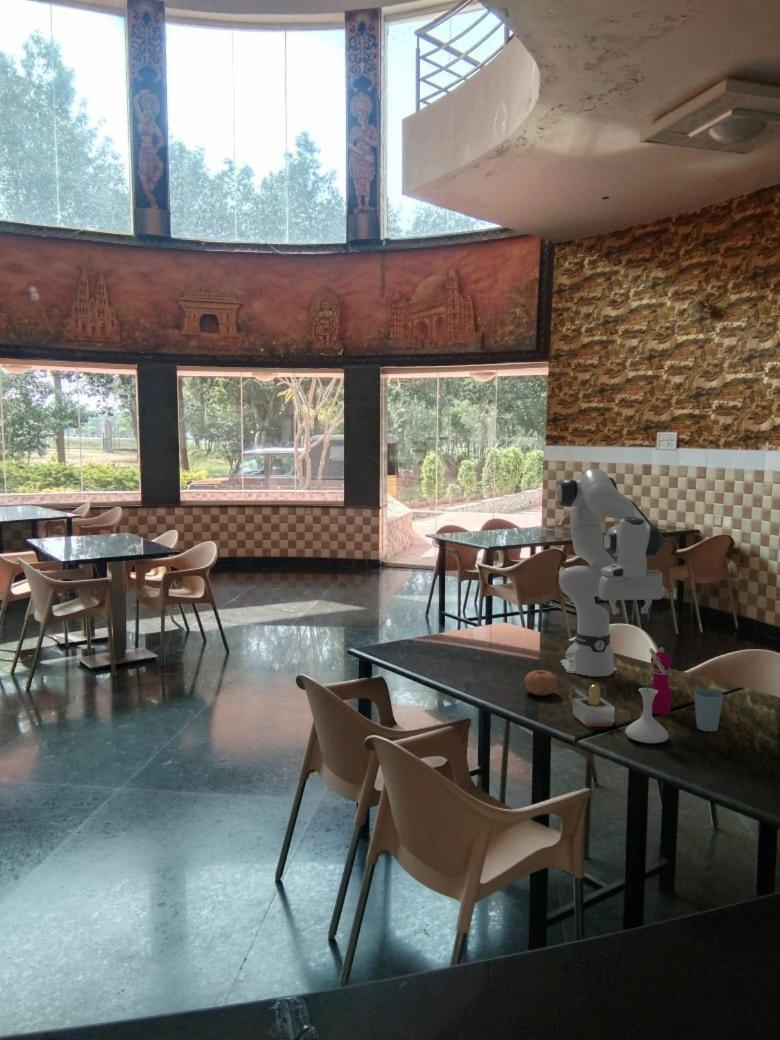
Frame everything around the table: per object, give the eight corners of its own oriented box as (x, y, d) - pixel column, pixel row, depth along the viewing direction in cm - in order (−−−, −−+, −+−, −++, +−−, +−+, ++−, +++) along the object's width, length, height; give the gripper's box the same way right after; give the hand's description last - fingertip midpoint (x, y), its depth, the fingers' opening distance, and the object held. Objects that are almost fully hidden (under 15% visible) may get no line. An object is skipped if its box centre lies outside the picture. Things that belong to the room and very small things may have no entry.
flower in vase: (664, 750, 201) (667, 657, 199) (620, 742, 206) (623, 652, 204) (672, 735, 212) (675, 647, 210) (631, 727, 218) (633, 642, 216)
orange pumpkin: (561, 699, 244) (562, 674, 244) (528, 699, 244) (528, 675, 243) (552, 689, 255) (553, 665, 254) (520, 689, 254) (521, 666, 254)
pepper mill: (656, 716, 228) (658, 650, 226) (642, 708, 235) (644, 645, 233) (677, 714, 230) (679, 649, 228) (662, 706, 237) (664, 643, 235)
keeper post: (575, 717, 226) (576, 681, 225) (600, 716, 227) (601, 680, 226) (586, 727, 218) (587, 689, 217) (612, 725, 219) (613, 688, 219)
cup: (688, 723, 222) (690, 688, 221) (715, 724, 221) (717, 689, 220) (697, 732, 214) (699, 696, 213) (725, 733, 213) (727, 697, 213)
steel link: (562, 705, 235) (562, 690, 235) (589, 703, 236) (590, 689, 236) (584, 723, 218) (585, 708, 218) (614, 722, 220) (614, 706, 219)
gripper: (657, 567, 240) (656, 611, 241) (596, 568, 236) (595, 612, 237) (667, 570, 233) (666, 615, 234) (605, 571, 230) (604, 616, 231)
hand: (630, 613), depth 236 cm, fingers open, 8 cm apart
